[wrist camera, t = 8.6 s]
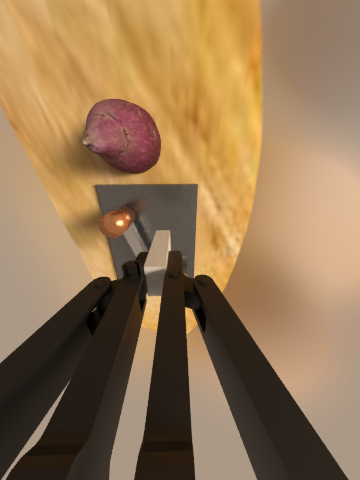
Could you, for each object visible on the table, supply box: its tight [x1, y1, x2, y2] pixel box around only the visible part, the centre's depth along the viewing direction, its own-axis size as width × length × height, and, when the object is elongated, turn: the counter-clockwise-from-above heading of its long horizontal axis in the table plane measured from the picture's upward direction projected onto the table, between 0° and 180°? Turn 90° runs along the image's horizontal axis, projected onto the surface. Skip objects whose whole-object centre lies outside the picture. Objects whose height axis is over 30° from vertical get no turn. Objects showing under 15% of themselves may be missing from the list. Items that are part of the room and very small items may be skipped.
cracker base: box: [96, 184, 198, 279], centre depth 31 cm, size 25×20×7 cm
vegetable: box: [82, 99, 161, 173], centre depth 21 cm, size 10×10×15 cm
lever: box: [99, 206, 148, 257], centre depth 29 cm, size 22×5×7 cm, turn 19°
